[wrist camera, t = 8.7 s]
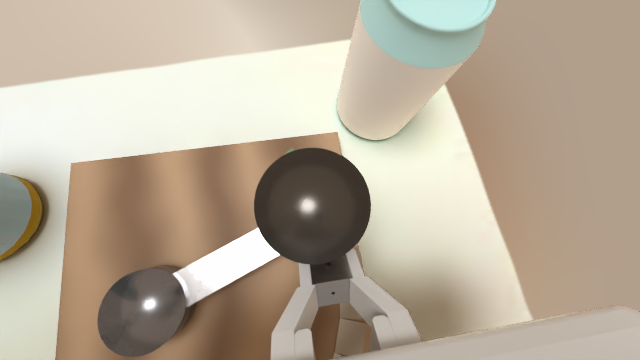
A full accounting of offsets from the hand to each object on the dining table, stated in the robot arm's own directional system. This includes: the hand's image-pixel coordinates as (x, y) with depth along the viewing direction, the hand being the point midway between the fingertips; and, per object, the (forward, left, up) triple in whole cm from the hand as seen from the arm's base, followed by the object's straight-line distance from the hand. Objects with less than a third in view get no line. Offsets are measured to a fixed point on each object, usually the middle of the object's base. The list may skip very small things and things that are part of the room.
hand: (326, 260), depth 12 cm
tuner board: (-8, -2, -8) cm, 11 cm away
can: (+7, +12, -8) cm, 16 cm away
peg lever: (-5, +1, -6) cm, 8 cm away
